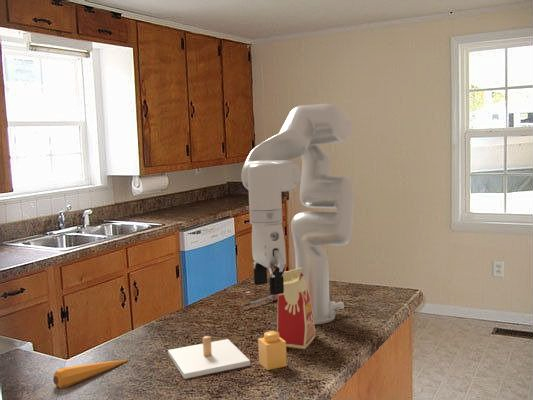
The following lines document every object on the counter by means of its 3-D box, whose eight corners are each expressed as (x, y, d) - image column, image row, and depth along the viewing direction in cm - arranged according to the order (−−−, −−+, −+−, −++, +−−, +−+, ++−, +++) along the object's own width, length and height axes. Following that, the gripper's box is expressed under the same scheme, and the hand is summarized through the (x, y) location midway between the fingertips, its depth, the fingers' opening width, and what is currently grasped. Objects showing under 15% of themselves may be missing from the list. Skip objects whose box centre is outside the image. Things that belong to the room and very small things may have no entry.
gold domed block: (278, 358, 138) (276, 328, 137) (286, 366, 133) (285, 335, 132) (259, 362, 136) (257, 332, 135) (267, 370, 131) (265, 339, 130)
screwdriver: (245, 311, 175) (245, 302, 175) (239, 309, 178) (239, 300, 177) (301, 294, 192) (301, 285, 191) (295, 292, 194) (295, 284, 194)
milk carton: (315, 336, 151) (313, 263, 149) (306, 349, 143) (304, 272, 140) (283, 333, 154) (280, 262, 152) (272, 346, 146) (269, 270, 143)
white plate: (228, 343, 149) (227, 322, 148) (250, 365, 134) (249, 342, 134) (168, 354, 143) (166, 332, 142) (184, 378, 128) (183, 354, 127)
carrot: (58, 394, 124) (62, 377, 123) (48, 382, 127) (52, 365, 126) (133, 372, 140) (137, 357, 138) (123, 361, 142) (127, 346, 141)
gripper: (296, 219, 124) (299, 295, 126) (266, 211, 140) (269, 278, 142) (265, 222, 121) (268, 300, 123) (238, 213, 137) (241, 282, 139)
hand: (268, 288), depth 132 cm, fingers open, 9 cm apart
